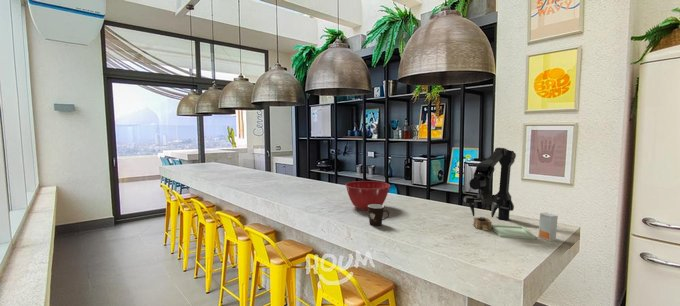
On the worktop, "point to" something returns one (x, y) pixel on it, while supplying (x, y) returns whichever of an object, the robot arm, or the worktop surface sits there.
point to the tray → (513, 231)
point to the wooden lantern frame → (482, 224)
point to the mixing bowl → (367, 193)
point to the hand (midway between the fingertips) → (482, 216)
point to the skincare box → (548, 226)
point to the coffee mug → (376, 214)
